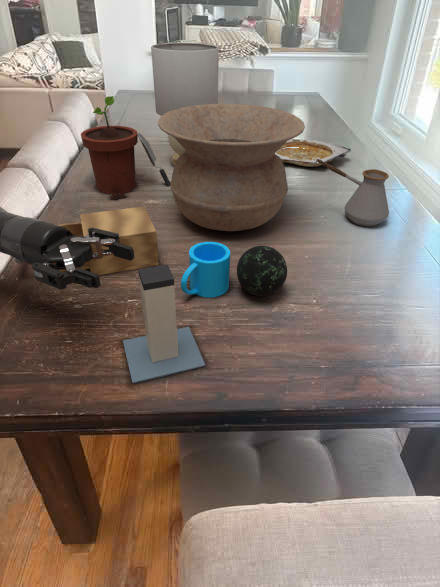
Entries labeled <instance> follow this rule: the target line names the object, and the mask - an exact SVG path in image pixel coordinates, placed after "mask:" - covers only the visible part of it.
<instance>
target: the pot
mask: <svg viewBox="0 0 440 587" xmlns="http://www.w3.org/2000/svg"><path fill="white" fill-rule="evenodd" d="M157 126H158V128H159V129H160V130H161V131H162V132H163V133H165V134H166V135H167V136H168V135H171V136H173V137H174V138H175V139H176V140H177V141H178V142H179V143H180V144H181V146H182V147H183V148H184V149H185V150H186V151H185V152H184V153H183V154H182V155H181V156H179V158H178V160H177V162H176V164H175V166H174V165H173V170H172V174H171V180H170V190H171V192H172V196H173V199H174V202H175V204H176V206H177V208H178V210H179V211H180V213H181V214H182V215H183V216H184V217H185V218H186V219H188V220H189V221H190V222H192V223H194V224H195V225H197V226H199V227H202V228H205V229H208V230H209V229H210V230H214V231H222V232H238V231H239V232H240V231H241V232H242V231H246V230H247V231H248V230H252V229H255V228H258V227H260V226H262V225H265V223H267V222H269V221H270V220H272V219H273V218H274V217H275V216H276V215H277V213H278V212H279V211H280V210H281V207H282V205H283V203H284V200H285V198H286V196H287V194H288V190H289V189H288V188H289V186H288V181H287V180H288V179H287V172H286V167H285V164H284V163H283V162H282V161H281V159H280V158H279V157H278V156H277V155H276V154H275V152H276V151H277V150H278V149H279V148H281V147H282V146H283V145H284V144H285V143H286V142H287V141H288V140H290V139H296V138H297V137H298V136H299V137H300V135H301V134H303V133H304V131H305V129H306V125H305V122H304V121H303V120H302V119H301V118H300V117H298V116H296V115H295V114H293V113H290V112H287V111H285V110H280V109H277V108H274V107H273V108H272V107H268V106H262V105H256V104H255V105H254V104H245V103H242V104H241V103H218V104H204V105H194V106H188V107H183V108H179V109H175V110H172V111H169V112H167V113H165V114H164V115H162V116H161V115H160V117H159V118H158V120H157Z"/></svg>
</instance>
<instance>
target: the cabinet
mask: <svg viewBox="0 0 440 587" xmlns="http://www.w3.org/2000/svg"><path fill="white" fill-rule="evenodd" d="M79 217H80V222H81V224H82V230H83V235H84V237H85V236H86V235H87V234H89V233H88V229H89V228H97V229H101V230H105V231H109V232H114V233H118V234H119V240H120V243H121V244H124V245H127V246H131V247H132V248H133V250H134V259H133V260H131V261H129V260H126V259H123V258H119V257H116V256H114V255H107V256H103V257H102V258H101V259H91V260H90V261H89V266H90V269H89V271H90V272H93V273H96V274H98V276H102V275H109V274H114V273H120V272H125V271H132V270H138V269H143V268H149V267H155V266H160V261H159V252H158V251H159V249H158V238H157V237H158V236H157V230H156V228H155V226H154V224H153V221H152V219H151V217H150V215H149V212H148V210H147V209H146V206H145V205H144V206H137V207H129V208H120V209H113V210H104V211H97V212H96V211H95V212H90V213H89V212H88V213H81V214H79ZM109 239H111V238H109ZM90 245H91V247H92V251H93V253H96V252H97V249H96V245H94V244H90ZM101 247H102V249H103V250H107V249H109V247H105V246H101Z"/></svg>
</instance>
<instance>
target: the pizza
mask: <svg viewBox="0 0 440 587" xmlns="http://www.w3.org/2000/svg"><path fill="white" fill-rule="evenodd" d="M286 147H299V148H286ZM282 148H286V149H282ZM303 148H305V149H303ZM280 149H281V150H280ZM278 150H280V151H278ZM278 150H277V151H278V152H277V151H276V152H275V154H276V155H277V156H278V157H279V158H280V159H281V161H282V163H283V164H284V163H285V164H287V163H289V164H291V165H296V166H297V165H298V166H302V167H312V168H313V167H319V166H323V165H322V164H320V163H318V162H317V163H316V165H315V166H314V164H315V162H316V160H317V159H320V160H322V161H323V162H326V163H327V164H330V162H332V161H333V160H334V159H336V158H344V157H345V156H347V154H348V153H350V152H351V151H352V150H351V148H348V147H345V146H343V145H340V144H335V143H331V142H327V141H324V140H319V139H304V138H303V139H301V138H292V139H290V140H288V141H287V142H286V143H285V144H284V145H283V146H282V147H281V148H279V149H278Z"/></svg>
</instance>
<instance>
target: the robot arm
mask: <svg viewBox="0 0 440 587" xmlns="http://www.w3.org/2000/svg"><path fill="white" fill-rule="evenodd" d="M88 233H89V234H87V235H86V236H85V237H84V236H74V235H73V234H72V233H71V232H70V231H69V230H68V229H66V228H65V227H62V226H59V225H58V224H55V223H52V222H48V221H44V220H41V219H38V218H34V217H28V216H22V215H19V214H16V213H11V212H9V211H7V210H6V209H5V208H3V207H2V206H0V254H1V253H2V254H4V255H7V256H10V257H11V258H14V259H15V260H16V259H18V260H20V261H23V263H25V264H29V265H31V268H32V271H33V275H34V278H35V280H36V281H39V282H41V283H43V284H45V285H48V286H50V287H53V288H55V289H57V290H62V291H63V290H65V289H67V288H68V285H79V286H83V287H86V288H91V289H92V288H93V289H99V287H101V279H100V275H98V274H96V273H93V272H91V271H90V270H88V269H84V270H83V269H80V267H81V266H83V265H84V264H85V263H86V262H88V261H90V260H91V259H101V258H102V257H103V256H107V255H114V256H116V257H119V258H123V259H126V260H129V261H131V260H133V259H134V250H133V248H132V247H131V246H127V245H124V244H121V243H120V240H119V234H118V233H114V232H109V231H105V230H101V229H97V228H89V229H88ZM109 238H111V239H109ZM90 244H94V245H96V249H97V252H96V253H93V251H92V247H91V245H90ZM101 246H105V247H109V249H107V250H103V249H102V247H101ZM77 267H78V269H77V270H75V268H77ZM61 269H65V272H64V273H63V272H61V271H59V270H61Z"/></svg>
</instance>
